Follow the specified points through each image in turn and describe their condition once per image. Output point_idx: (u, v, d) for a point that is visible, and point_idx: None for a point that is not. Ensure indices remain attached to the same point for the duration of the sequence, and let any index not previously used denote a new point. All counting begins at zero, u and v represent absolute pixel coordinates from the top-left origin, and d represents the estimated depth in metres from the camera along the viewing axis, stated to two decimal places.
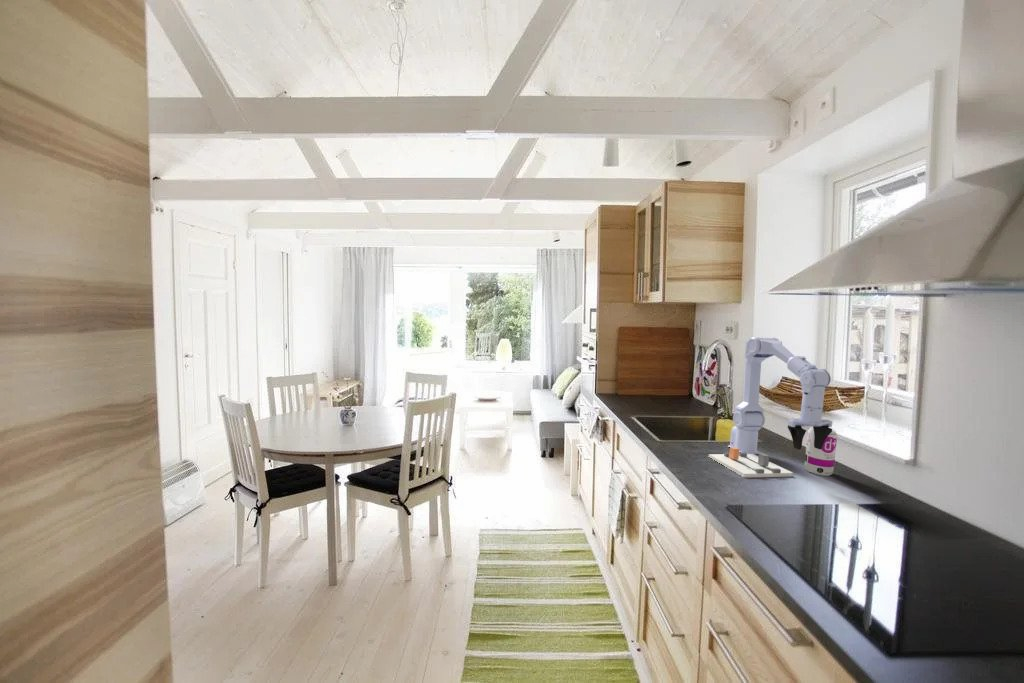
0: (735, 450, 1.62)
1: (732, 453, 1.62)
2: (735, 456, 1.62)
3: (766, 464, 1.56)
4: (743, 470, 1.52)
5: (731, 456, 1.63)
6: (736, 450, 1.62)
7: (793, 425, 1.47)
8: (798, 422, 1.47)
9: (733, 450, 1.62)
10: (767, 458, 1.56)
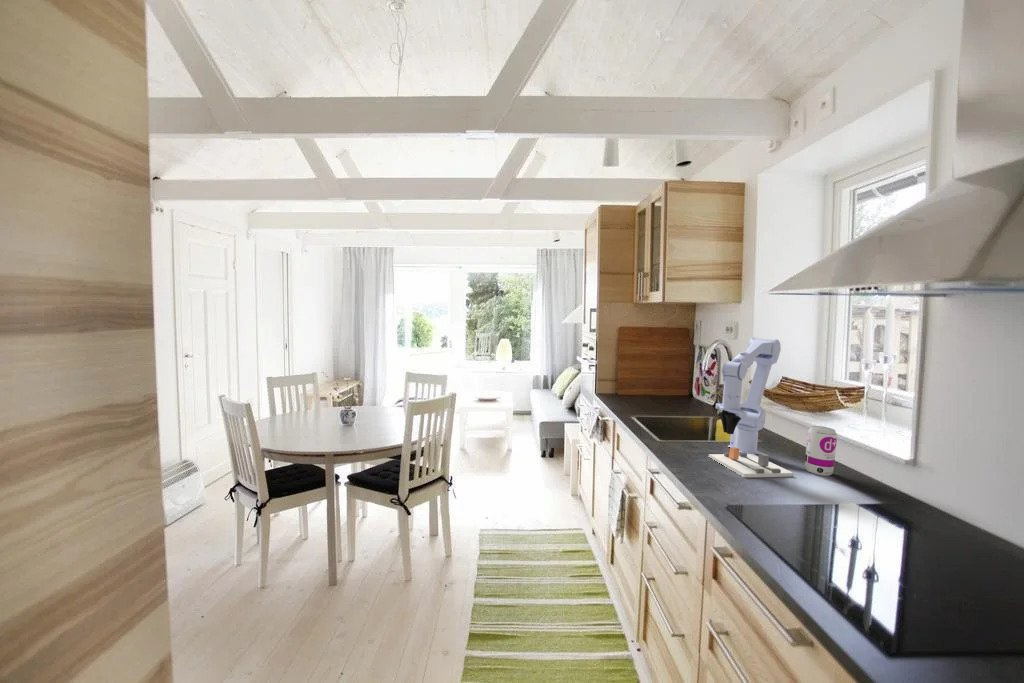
0: (735, 450, 1.62)
1: (732, 453, 1.62)
2: (735, 456, 1.62)
3: (766, 464, 1.56)
4: (743, 470, 1.52)
5: (731, 456, 1.63)
6: (736, 450, 1.62)
7: (715, 407, 1.72)
8: (717, 405, 1.71)
9: (733, 450, 1.62)
10: (767, 458, 1.56)
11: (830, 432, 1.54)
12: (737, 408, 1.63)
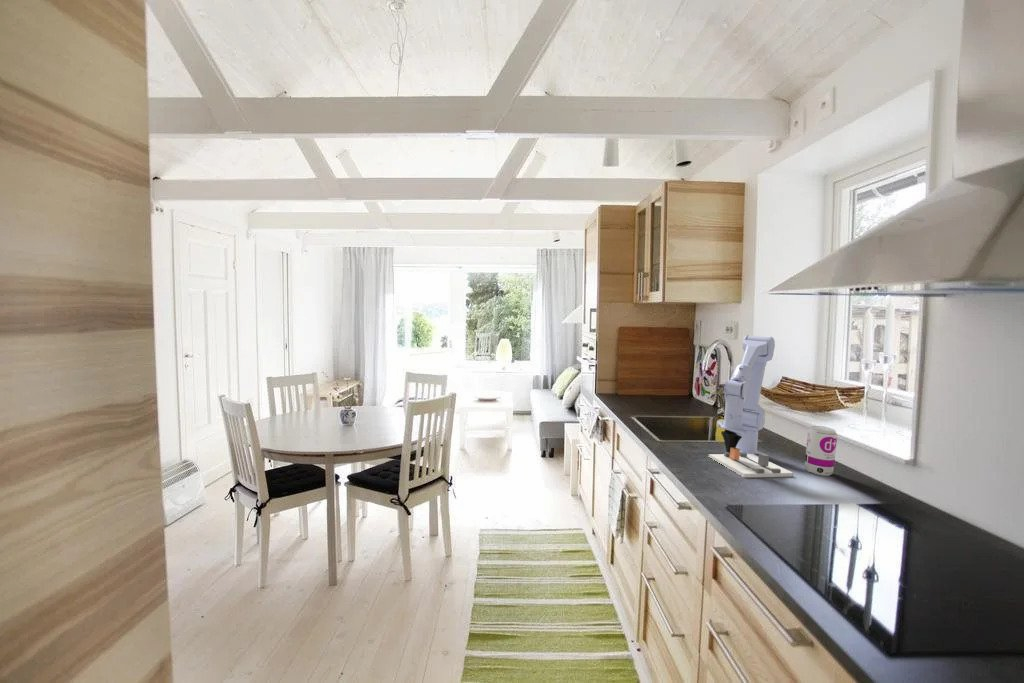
0: (736, 450, 1.61)
1: (733, 453, 1.62)
2: (736, 456, 1.62)
3: (766, 464, 1.56)
4: (743, 470, 1.52)
5: (732, 456, 1.63)
6: (737, 450, 1.61)
7: (717, 425, 1.71)
8: (719, 423, 1.70)
9: (734, 450, 1.62)
10: (767, 458, 1.56)
11: (830, 432, 1.54)
12: (739, 427, 1.62)
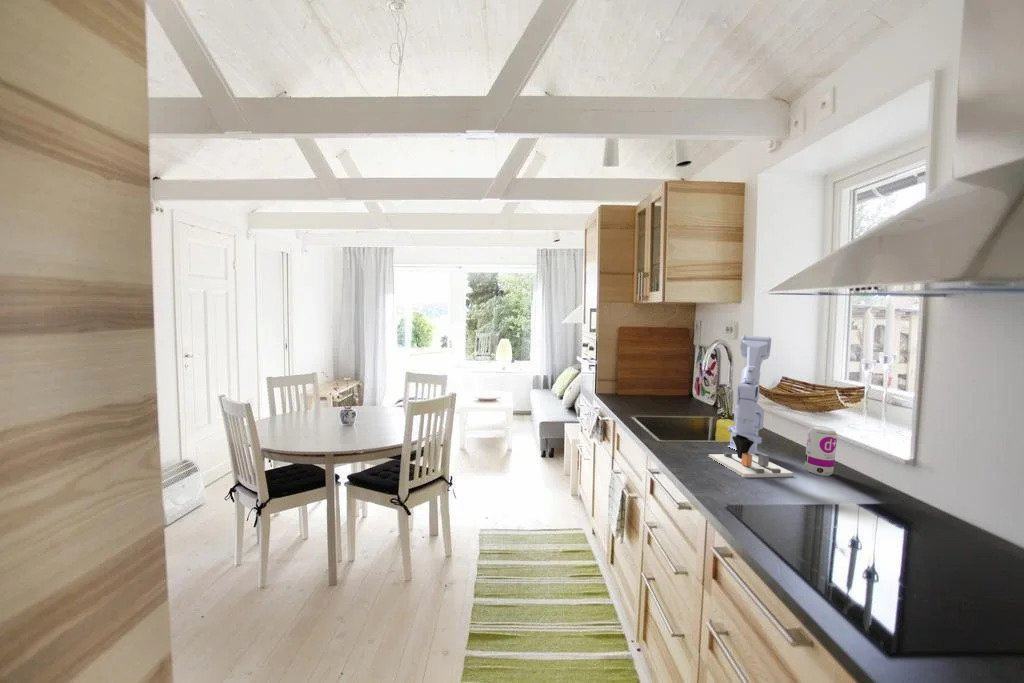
0: (748, 456, 1.55)
1: (745, 459, 1.56)
2: (748, 462, 1.56)
3: (766, 464, 1.56)
4: (743, 470, 1.52)
5: (744, 462, 1.57)
6: (749, 456, 1.55)
7: (728, 430, 1.65)
8: (730, 428, 1.64)
9: (746, 456, 1.56)
10: (767, 458, 1.56)
11: (830, 432, 1.54)
12: (751, 432, 1.56)
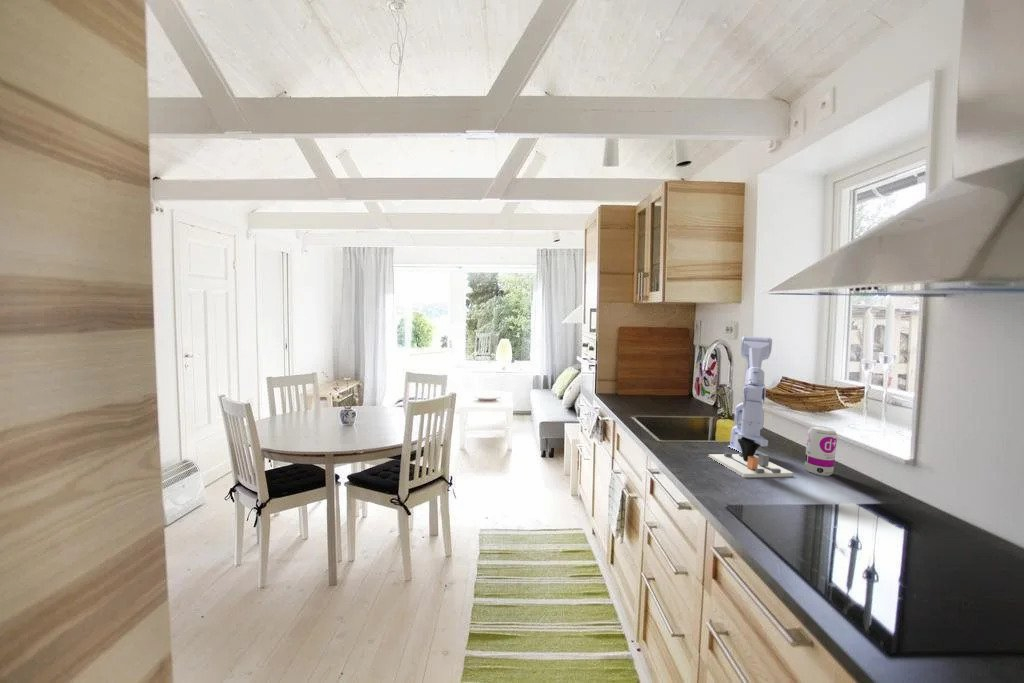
0: (754, 459, 1.53)
1: (750, 462, 1.53)
2: (754, 466, 1.53)
3: (766, 464, 1.56)
4: (743, 470, 1.52)
5: (749, 465, 1.54)
6: (755, 459, 1.53)
7: (733, 432, 1.62)
8: (735, 430, 1.61)
9: (752, 459, 1.53)
10: (767, 458, 1.56)
11: (830, 432, 1.54)
12: (757, 435, 1.53)
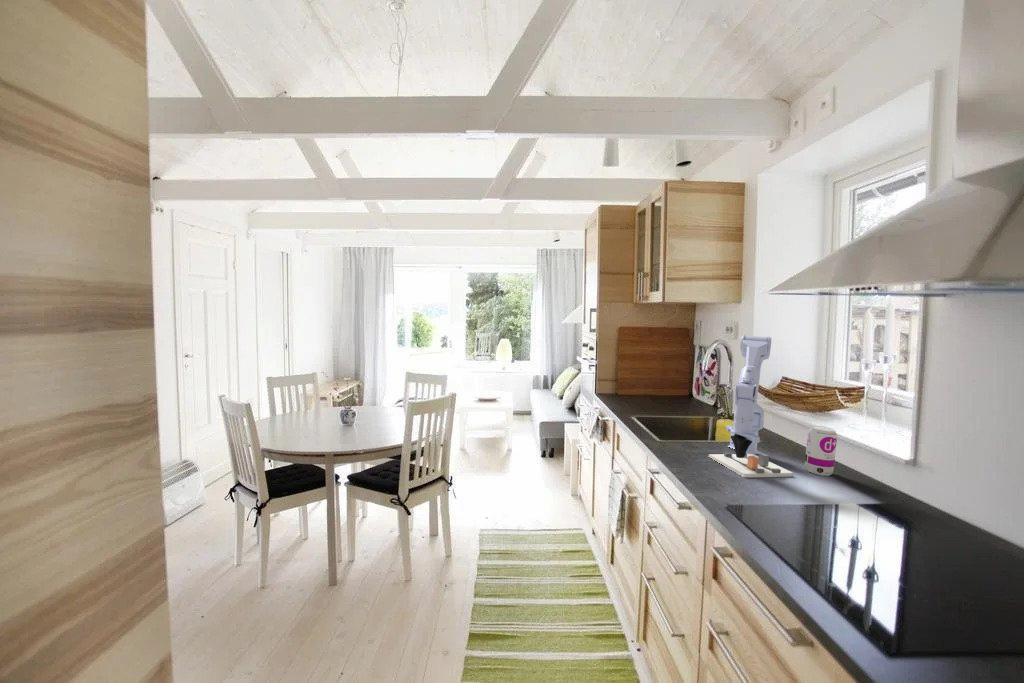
0: (754, 459, 1.52)
1: (751, 462, 1.53)
2: (754, 466, 1.53)
3: (766, 464, 1.56)
4: (743, 470, 1.52)
5: (750, 466, 1.54)
6: (755, 459, 1.53)
7: (726, 429, 1.66)
8: (728, 427, 1.64)
9: (752, 459, 1.53)
10: (767, 458, 1.56)
11: (830, 432, 1.54)
12: (749, 432, 1.57)
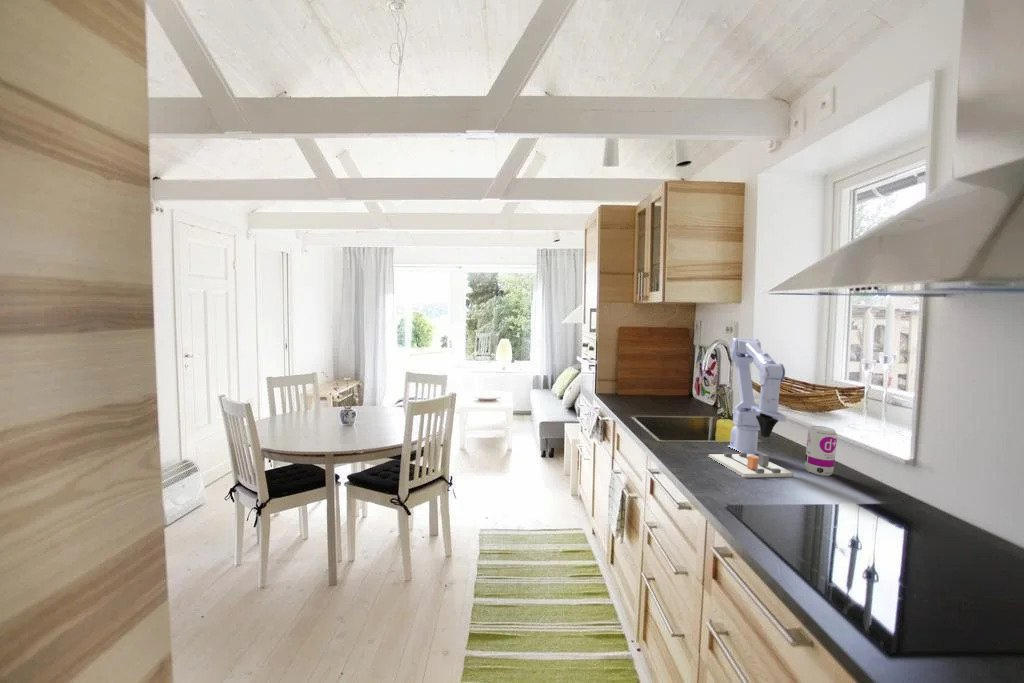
0: (754, 459, 1.52)
1: (751, 462, 1.53)
2: (754, 466, 1.53)
3: (766, 464, 1.56)
4: (743, 470, 1.52)
5: (750, 466, 1.54)
6: (755, 459, 1.53)
7: (751, 409, 1.68)
8: (753, 408, 1.67)
9: (752, 459, 1.53)
10: (767, 458, 1.56)
11: (830, 432, 1.54)
12: (775, 411, 1.59)
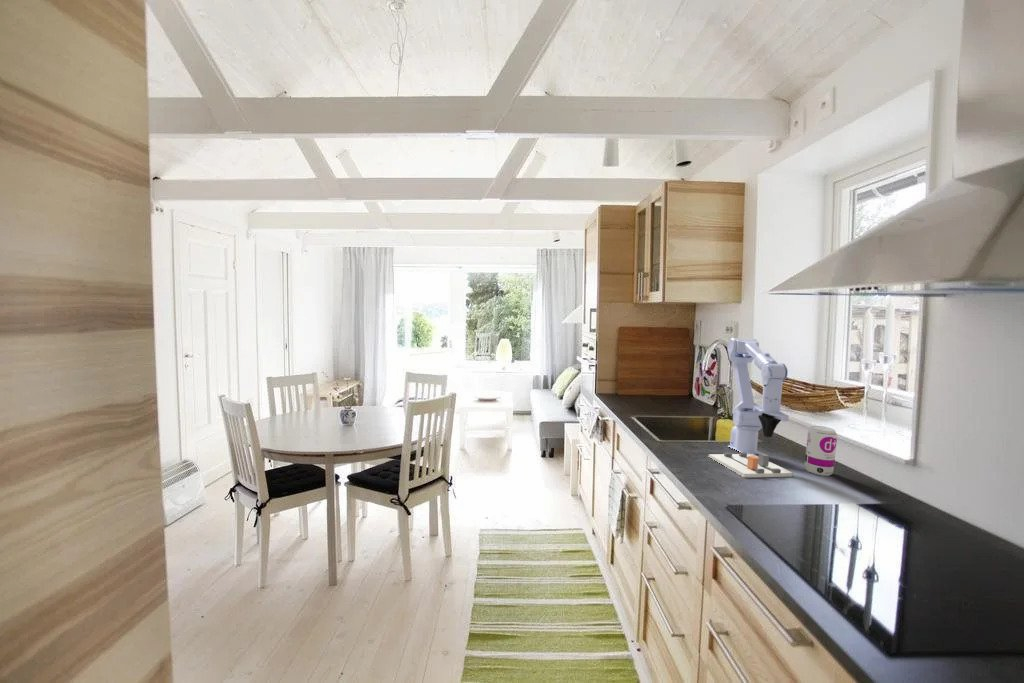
0: (754, 459, 1.52)
1: (751, 462, 1.53)
2: (754, 466, 1.53)
3: (766, 464, 1.56)
4: (743, 470, 1.52)
5: (750, 466, 1.54)
6: (755, 459, 1.53)
7: (753, 409, 1.69)
8: (756, 407, 1.67)
9: (752, 459, 1.53)
10: (767, 458, 1.56)
11: (830, 432, 1.54)
12: (777, 411, 1.59)
